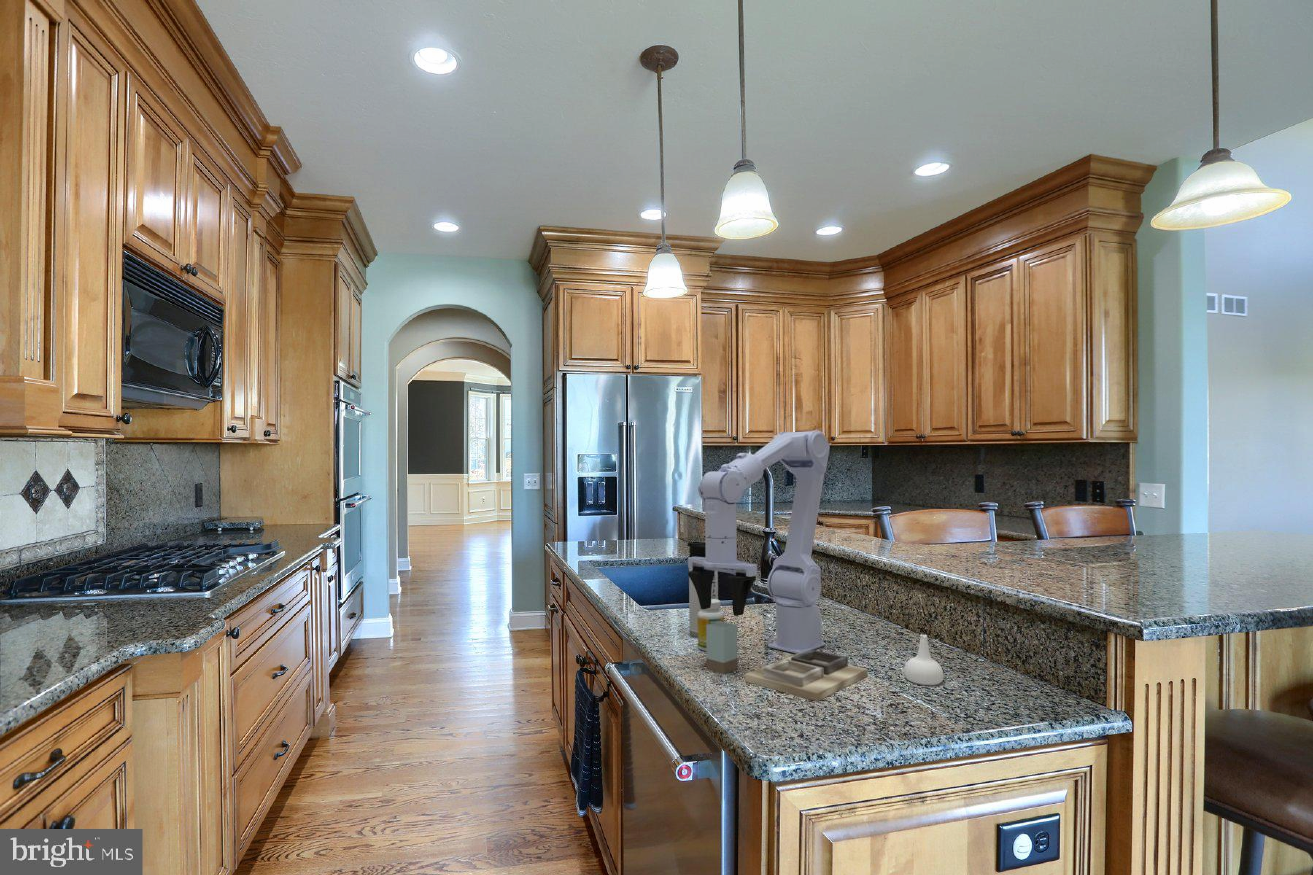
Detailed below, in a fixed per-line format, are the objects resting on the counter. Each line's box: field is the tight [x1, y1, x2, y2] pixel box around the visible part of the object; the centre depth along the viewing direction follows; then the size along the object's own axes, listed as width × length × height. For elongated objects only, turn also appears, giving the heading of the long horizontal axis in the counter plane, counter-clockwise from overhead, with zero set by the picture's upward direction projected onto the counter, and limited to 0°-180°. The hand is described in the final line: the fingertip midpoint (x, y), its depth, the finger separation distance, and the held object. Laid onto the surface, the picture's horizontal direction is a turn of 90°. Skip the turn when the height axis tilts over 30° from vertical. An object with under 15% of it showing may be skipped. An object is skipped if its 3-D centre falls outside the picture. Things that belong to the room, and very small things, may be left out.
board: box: [744, 649, 869, 702], centre depth 115 cm, size 17×14×3 cm
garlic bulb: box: [903, 634, 944, 686], centre depth 114 cm, size 6×6×8 cm
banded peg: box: [705, 621, 739, 675], centre depth 121 cm, size 4×4×8 cm
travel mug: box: [687, 541, 719, 639], centre depth 145 cm, size 6×7×20 cm
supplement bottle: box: [697, 599, 725, 652], centre depth 134 cm, size 5×5×10 cm
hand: (721, 611), depth 121 cm, fingers open, 7 cm apart
